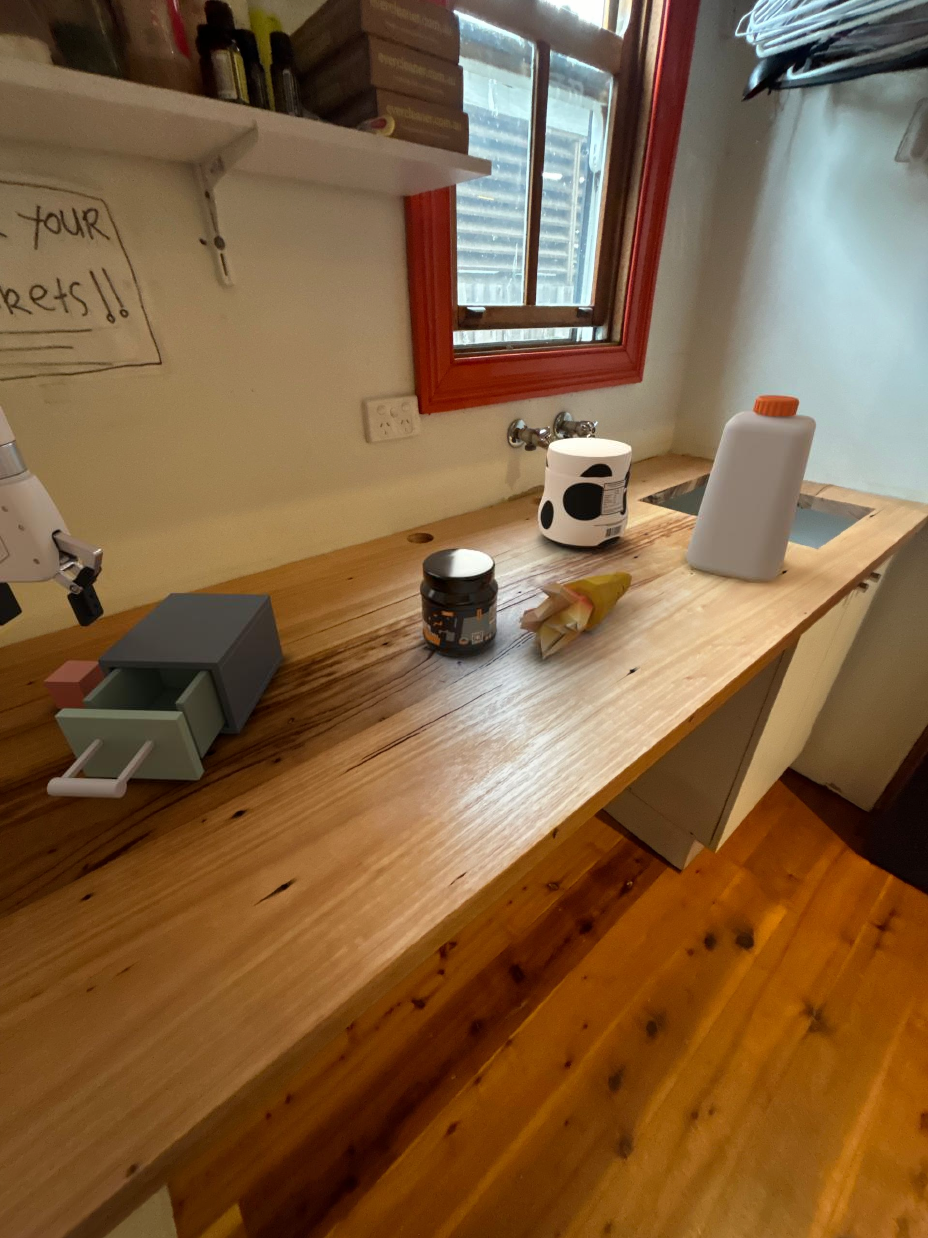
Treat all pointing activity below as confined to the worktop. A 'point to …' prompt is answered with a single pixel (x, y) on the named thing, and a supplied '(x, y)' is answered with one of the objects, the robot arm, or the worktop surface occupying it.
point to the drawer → (140, 730)
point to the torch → (573, 609)
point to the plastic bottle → (753, 492)
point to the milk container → (585, 492)
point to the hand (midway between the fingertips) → (51, 619)
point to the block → (74, 683)
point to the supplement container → (459, 601)
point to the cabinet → (208, 646)
